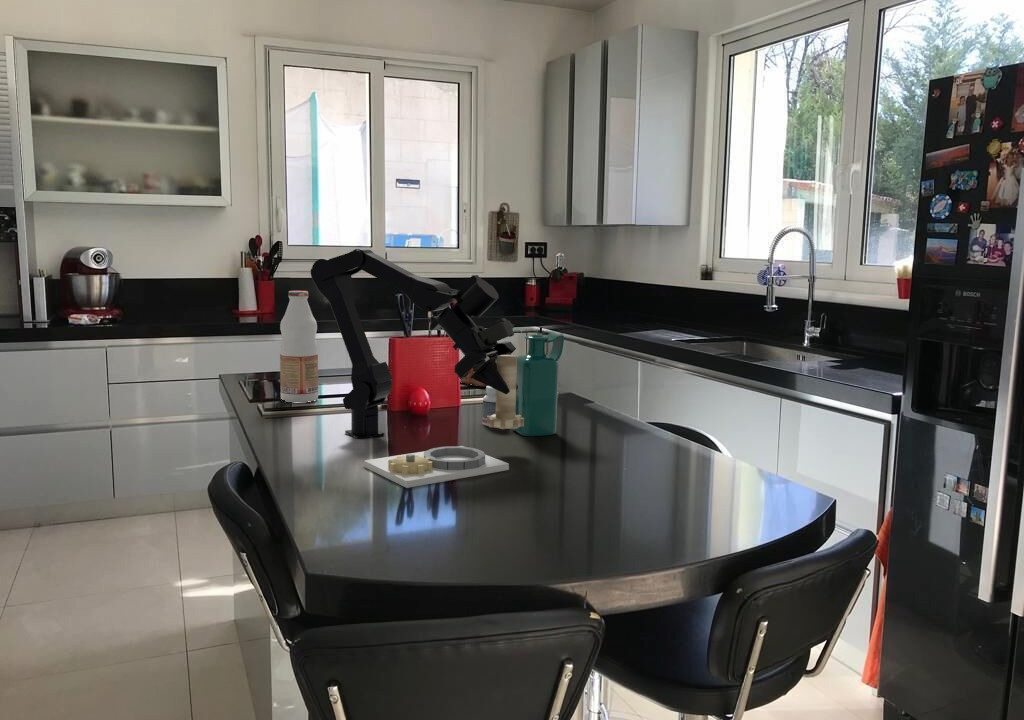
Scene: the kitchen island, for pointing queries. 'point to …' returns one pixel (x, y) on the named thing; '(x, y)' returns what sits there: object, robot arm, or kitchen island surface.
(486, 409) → the pill bottle
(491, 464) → the gear board
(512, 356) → the disc
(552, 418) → the pitcher
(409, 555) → the kitchen island surface
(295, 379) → the fruit juice
